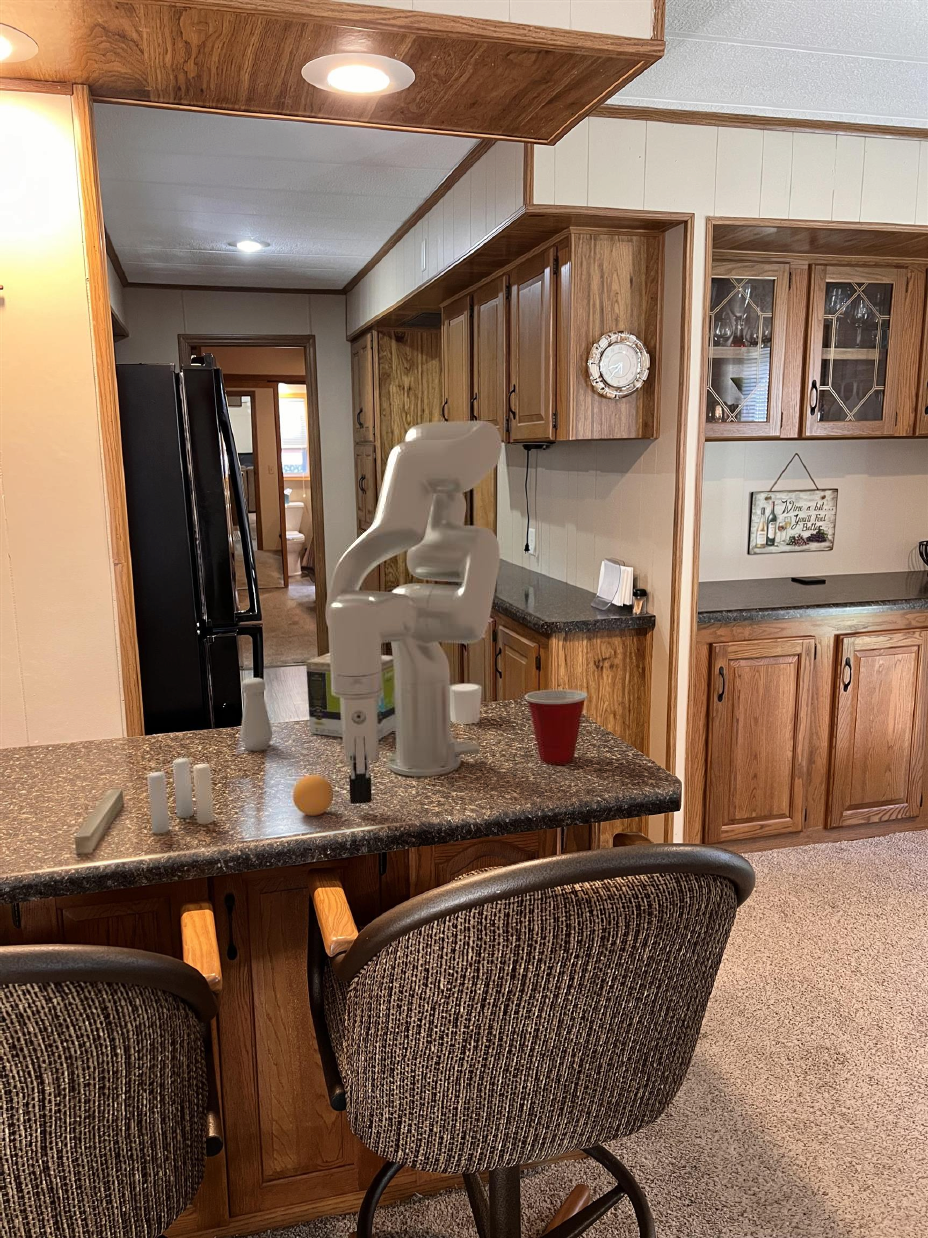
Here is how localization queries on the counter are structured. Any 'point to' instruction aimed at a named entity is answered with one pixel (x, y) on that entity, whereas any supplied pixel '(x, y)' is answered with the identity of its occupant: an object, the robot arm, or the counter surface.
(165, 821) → the pin
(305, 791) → the ball
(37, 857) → the counter surface
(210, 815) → the front pin
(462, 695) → the white cylinder
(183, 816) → the pin
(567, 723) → the plastic cup
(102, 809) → the back rail
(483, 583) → the robot arm
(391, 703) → the tea box
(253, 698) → the salt shaker
